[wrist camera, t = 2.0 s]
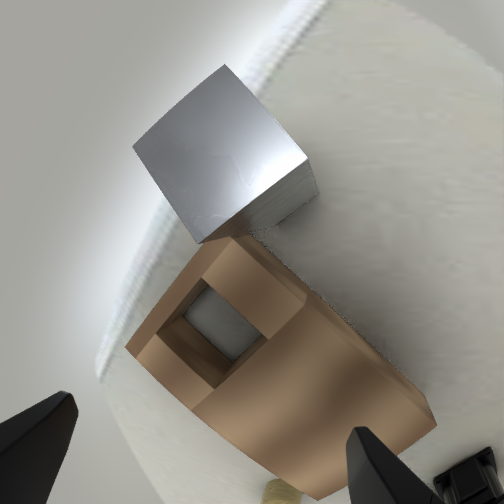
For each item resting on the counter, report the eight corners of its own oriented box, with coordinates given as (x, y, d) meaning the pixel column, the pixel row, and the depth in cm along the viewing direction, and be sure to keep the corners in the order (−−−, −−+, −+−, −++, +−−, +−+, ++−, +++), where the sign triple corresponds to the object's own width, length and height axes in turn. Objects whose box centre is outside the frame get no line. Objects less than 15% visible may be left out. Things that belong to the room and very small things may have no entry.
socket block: (424, 395, 19) (437, 425, 15) (321, 468, 22) (317, 500, 18) (238, 223, 21) (218, 225, 17) (152, 328, 24) (124, 347, 20)
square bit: (319, 192, 19) (307, 158, 7) (274, 225, 20) (197, 244, 8) (285, 149, 20) (224, 63, 7) (242, 182, 20) (132, 146, 8)
